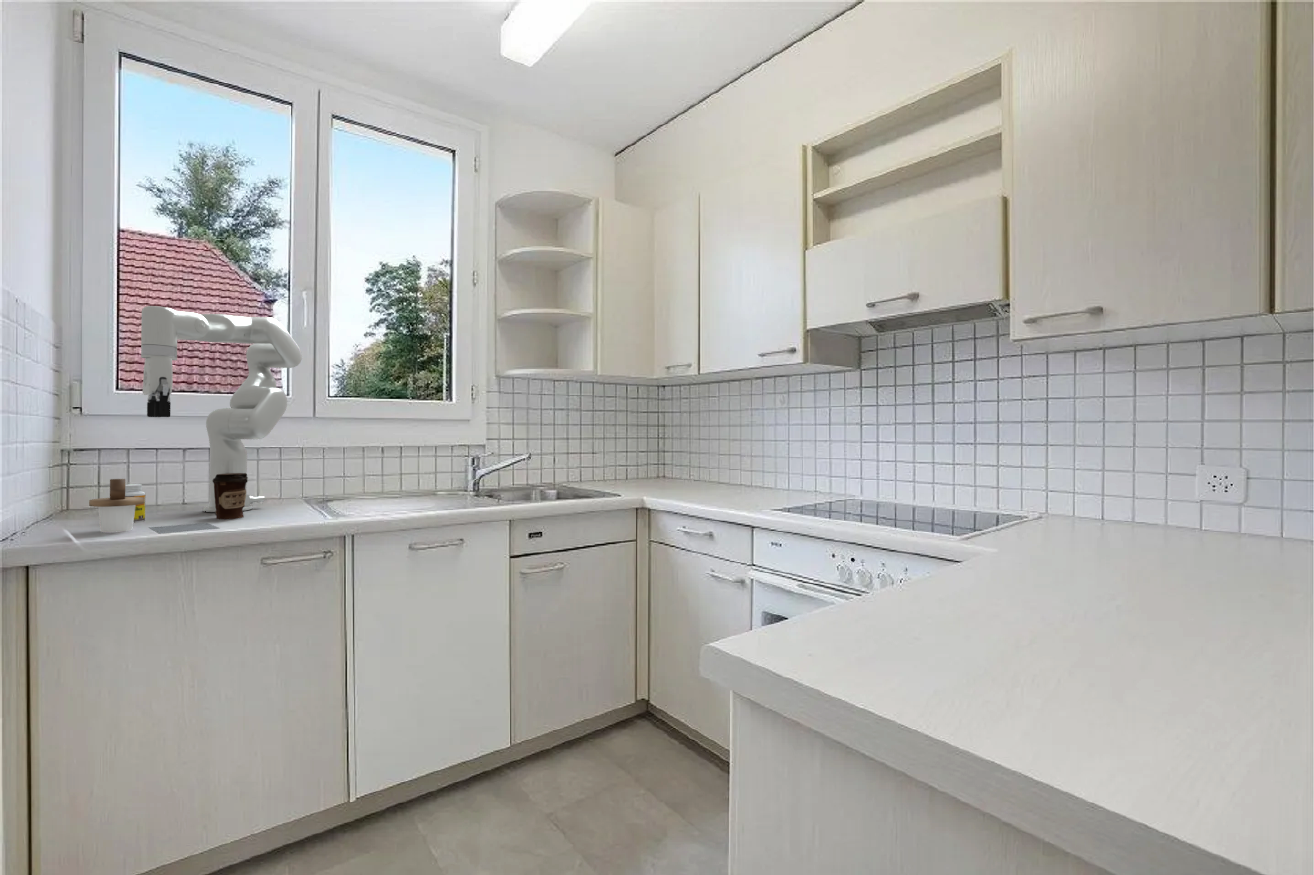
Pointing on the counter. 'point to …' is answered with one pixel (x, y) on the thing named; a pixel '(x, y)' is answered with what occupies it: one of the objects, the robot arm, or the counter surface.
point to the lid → (116, 496)
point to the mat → (183, 528)
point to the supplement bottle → (135, 491)
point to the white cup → (116, 518)
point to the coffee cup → (230, 495)
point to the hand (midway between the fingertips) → (158, 417)
